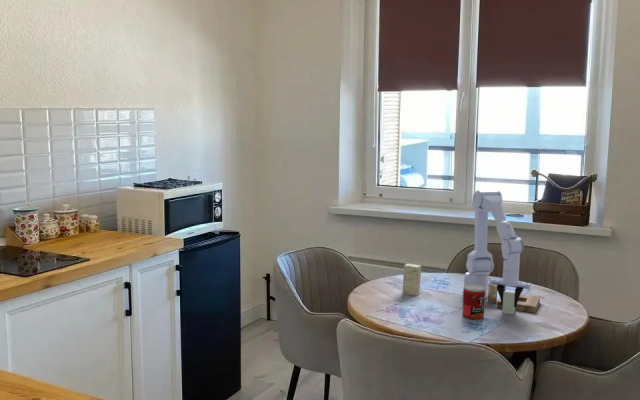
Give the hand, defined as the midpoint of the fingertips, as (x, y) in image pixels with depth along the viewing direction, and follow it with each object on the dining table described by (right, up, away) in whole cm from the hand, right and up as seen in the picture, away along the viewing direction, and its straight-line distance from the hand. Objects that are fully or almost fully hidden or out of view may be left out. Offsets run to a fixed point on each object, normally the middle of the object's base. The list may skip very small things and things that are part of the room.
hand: (509, 305), depth 229 cm
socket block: (+7, -1, +9) cm, 11 cm away
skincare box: (-33, +1, +23) cm, 41 cm away
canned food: (-15, -3, -5) cm, 16 cm away
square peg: (0, -3, 0) cm, 3 cm away
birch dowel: (-3, -1, +13) cm, 13 cm away
